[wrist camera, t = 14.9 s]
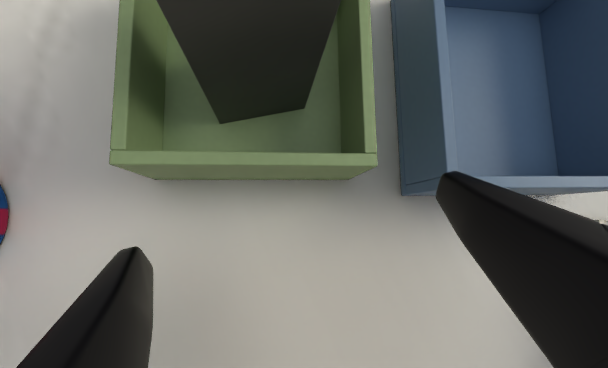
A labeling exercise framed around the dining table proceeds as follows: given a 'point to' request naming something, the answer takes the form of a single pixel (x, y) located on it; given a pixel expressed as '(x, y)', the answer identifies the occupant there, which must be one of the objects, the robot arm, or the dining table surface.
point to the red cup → (3, 214)
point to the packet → (252, 51)
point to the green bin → (245, 133)
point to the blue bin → (502, 93)
